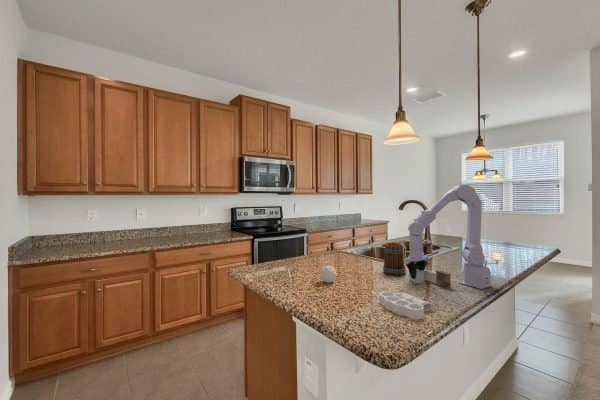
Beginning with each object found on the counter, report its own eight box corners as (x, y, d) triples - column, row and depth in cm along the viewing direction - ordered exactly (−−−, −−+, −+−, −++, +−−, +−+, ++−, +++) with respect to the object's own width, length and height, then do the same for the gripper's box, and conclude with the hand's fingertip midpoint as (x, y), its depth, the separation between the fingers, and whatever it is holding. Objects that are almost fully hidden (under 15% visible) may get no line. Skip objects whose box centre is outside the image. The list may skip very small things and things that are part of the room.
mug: (401, 277, 131) (401, 246, 131) (380, 274, 137) (379, 244, 137) (410, 269, 143) (409, 241, 143) (390, 267, 150) (389, 240, 150)
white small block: (424, 281, 123) (424, 270, 123) (418, 283, 121) (418, 272, 121) (415, 279, 127) (414, 268, 127) (409, 280, 126) (409, 269, 126)
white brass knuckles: (440, 314, 90) (408, 323, 84) (399, 296, 106) (370, 303, 100) (440, 304, 90) (408, 313, 84) (399, 288, 106) (370, 294, 100)
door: (441, 282, 120) (441, 273, 120) (438, 283, 119) (438, 274, 119) (418, 275, 131) (418, 267, 131) (415, 276, 130) (415, 268, 130)
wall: (451, 287, 114) (451, 273, 114) (448, 288, 113) (448, 274, 113) (438, 284, 119) (438, 270, 119) (435, 284, 118) (435, 271, 118)
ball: (329, 289, 124) (326, 278, 119) (318, 279, 129) (315, 269, 125) (341, 279, 127) (338, 268, 122) (329, 270, 132) (327, 259, 128)
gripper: (419, 245, 131) (419, 272, 131) (398, 248, 124) (398, 277, 125) (432, 247, 125) (432, 276, 125) (410, 250, 118) (411, 281, 118)
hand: (416, 277), depth 124 cm, fingers closed on white small block, 4 cm apart
